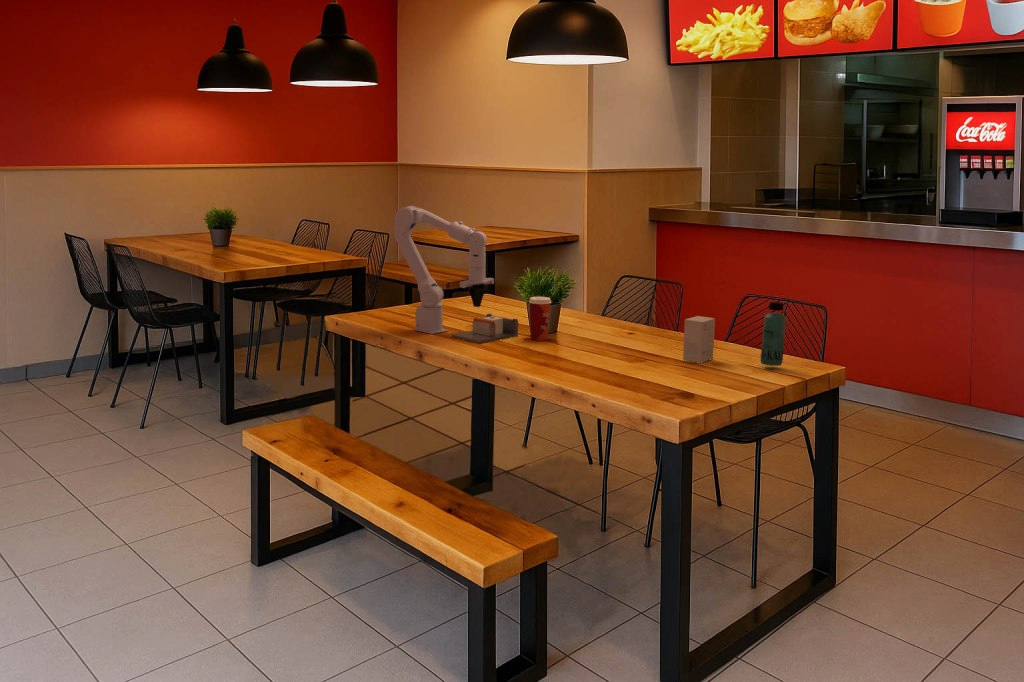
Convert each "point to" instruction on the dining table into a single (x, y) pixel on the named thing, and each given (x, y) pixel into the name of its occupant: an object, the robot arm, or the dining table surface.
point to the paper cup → (539, 317)
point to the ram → (484, 327)
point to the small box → (698, 339)
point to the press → (508, 331)
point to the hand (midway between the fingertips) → (476, 306)
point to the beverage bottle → (773, 336)
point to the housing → (498, 323)
